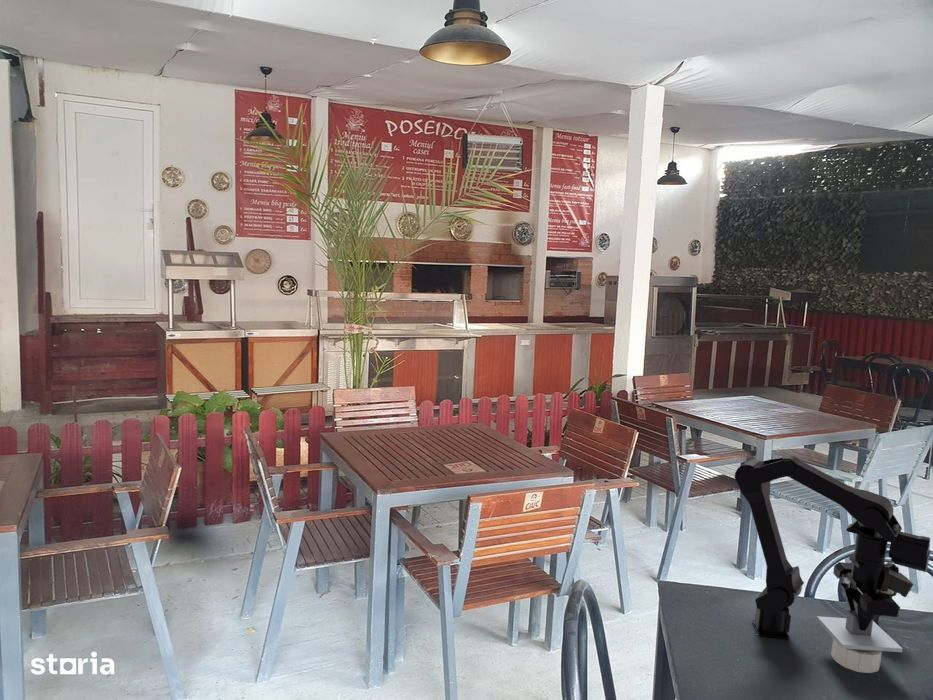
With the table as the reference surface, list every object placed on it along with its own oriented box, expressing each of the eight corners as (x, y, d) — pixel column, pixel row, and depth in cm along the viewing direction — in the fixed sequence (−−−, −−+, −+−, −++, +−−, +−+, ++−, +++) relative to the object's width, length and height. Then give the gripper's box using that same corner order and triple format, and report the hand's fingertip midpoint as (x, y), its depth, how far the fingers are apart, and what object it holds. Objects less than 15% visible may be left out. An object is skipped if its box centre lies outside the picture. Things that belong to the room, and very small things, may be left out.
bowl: (841, 670, 152) (843, 652, 151) (825, 646, 161) (827, 629, 160) (886, 675, 151) (889, 657, 150) (868, 651, 160) (871, 634, 159)
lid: (842, 648, 149) (845, 625, 149) (816, 619, 161) (818, 598, 160) (902, 652, 149) (905, 630, 148) (871, 623, 161) (874, 602, 160)
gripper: (933, 580, 142) (921, 654, 145) (890, 541, 161) (880, 608, 163) (872, 574, 144) (862, 648, 146) (837, 537, 162) (828, 603, 164)
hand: (859, 625), depth 155 cm, fingers closed on lid, 3 cm apart
